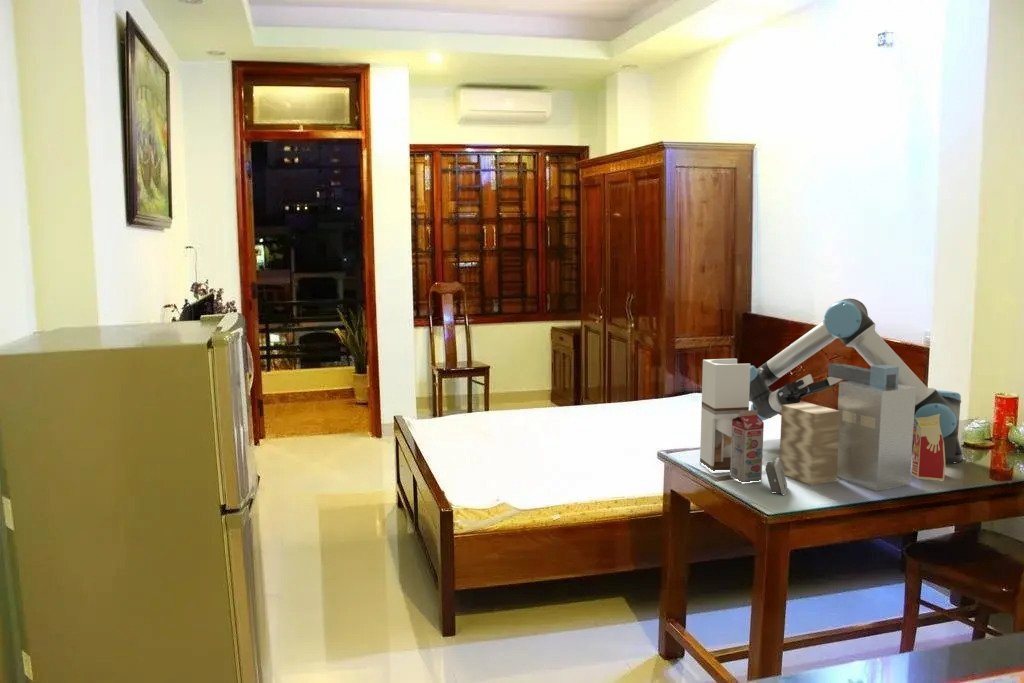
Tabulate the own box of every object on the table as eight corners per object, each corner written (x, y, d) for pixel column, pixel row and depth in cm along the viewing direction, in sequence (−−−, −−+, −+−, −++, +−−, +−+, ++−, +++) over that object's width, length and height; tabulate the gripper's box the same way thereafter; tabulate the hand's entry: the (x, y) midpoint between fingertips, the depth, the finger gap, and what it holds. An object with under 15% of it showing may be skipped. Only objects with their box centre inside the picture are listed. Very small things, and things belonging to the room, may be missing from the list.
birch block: (778, 472, 256) (781, 405, 253) (802, 468, 260) (805, 402, 257) (811, 485, 243) (815, 414, 240) (836, 480, 247) (840, 410, 244)
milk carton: (939, 472, 255) (943, 411, 252) (945, 481, 246) (950, 417, 243) (907, 470, 258) (911, 409, 255) (912, 478, 249) (916, 415, 246)
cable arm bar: (825, 376, 257) (826, 358, 256) (839, 375, 260) (840, 356, 259) (883, 388, 238) (884, 368, 237) (897, 386, 240) (898, 367, 239)
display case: (712, 473, 255) (715, 365, 250) (699, 463, 266) (702, 359, 261) (746, 471, 257) (750, 363, 252) (732, 462, 267) (736, 358, 262)
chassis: (833, 476, 252) (838, 382, 248) (866, 470, 257) (872, 378, 253) (875, 491, 237) (881, 391, 233) (909, 484, 243) (916, 387, 239)
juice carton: (730, 478, 250) (732, 409, 247) (748, 475, 253) (750, 407, 250) (743, 484, 244) (745, 413, 241) (761, 481, 246) (764, 411, 243)
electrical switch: (785, 496, 233) (783, 465, 232) (766, 496, 235) (764, 465, 234) (787, 487, 242) (785, 457, 241) (769, 486, 244) (767, 456, 243)
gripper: (816, 404, 282) (859, 384, 264) (760, 411, 272) (801, 390, 254) (808, 384, 285) (851, 362, 267) (753, 391, 275) (793, 368, 257)
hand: (827, 376), depth 260 cm, fingers open, 13 cm apart
